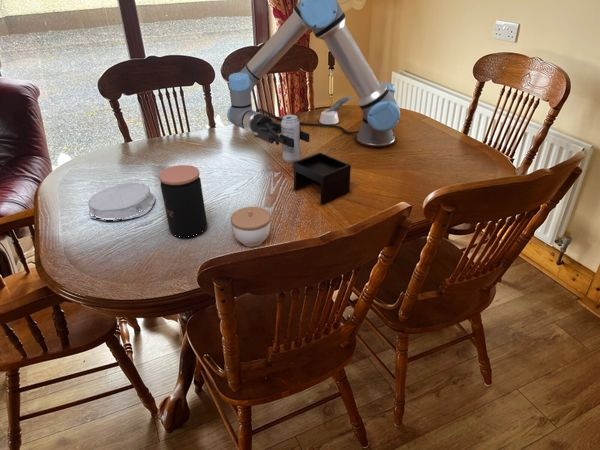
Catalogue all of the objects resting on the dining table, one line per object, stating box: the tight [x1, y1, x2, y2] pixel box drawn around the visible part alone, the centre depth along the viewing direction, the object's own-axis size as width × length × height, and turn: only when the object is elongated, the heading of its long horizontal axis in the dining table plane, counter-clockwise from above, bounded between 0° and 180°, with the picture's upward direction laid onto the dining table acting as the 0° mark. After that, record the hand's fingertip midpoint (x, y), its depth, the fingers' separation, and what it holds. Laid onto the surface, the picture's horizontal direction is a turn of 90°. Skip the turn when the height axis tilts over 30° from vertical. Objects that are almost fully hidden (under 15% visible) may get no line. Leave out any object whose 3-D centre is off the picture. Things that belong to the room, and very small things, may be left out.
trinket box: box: [230, 206, 272, 248], centre depth 122 cm, size 11×11×9 cm
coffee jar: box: [158, 164, 208, 240], centre depth 125 cm, size 11×11×18 cm
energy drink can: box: [280, 114, 301, 164], centre depth 151 cm, size 6×6×15 cm
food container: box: [87, 182, 156, 221], centre depth 140 cm, size 20×20×7 cm
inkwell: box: [318, 95, 355, 125], centre depth 205 cm, size 9×18×10 cm, turn 121°
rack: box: [292, 152, 352, 206], centre depth 146 cm, size 14×12×10 cm
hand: (300, 140), depth 147 cm, fingers closed on energy drink can, 6 cm apart
